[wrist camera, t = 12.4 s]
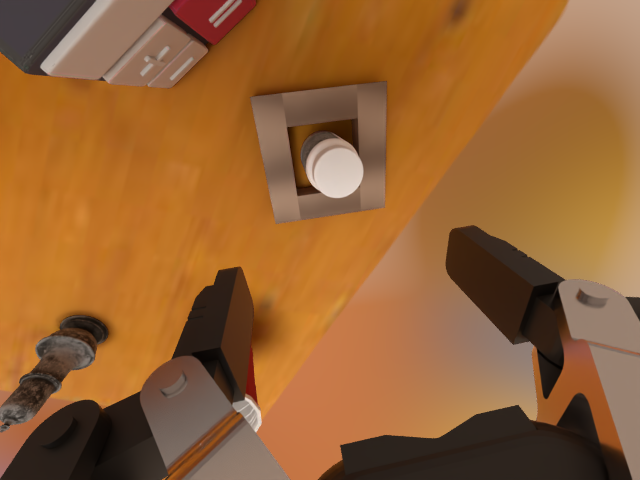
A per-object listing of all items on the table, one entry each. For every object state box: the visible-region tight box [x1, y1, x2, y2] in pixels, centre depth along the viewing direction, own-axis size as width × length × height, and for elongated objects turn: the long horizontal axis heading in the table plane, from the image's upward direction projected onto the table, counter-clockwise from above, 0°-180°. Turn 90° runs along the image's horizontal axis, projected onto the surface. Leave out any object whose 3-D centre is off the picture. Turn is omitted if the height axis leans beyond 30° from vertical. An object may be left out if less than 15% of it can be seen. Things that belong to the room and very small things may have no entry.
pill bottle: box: [301, 131, 363, 198], centre depth 25 cm, size 5×5×8 cm
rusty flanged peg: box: [0, 315, 108, 432], centre depth 29 cm, size 6×6×12 cm
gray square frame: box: [250, 81, 387, 224], centre depth 27 cm, size 12×12×2 cm
